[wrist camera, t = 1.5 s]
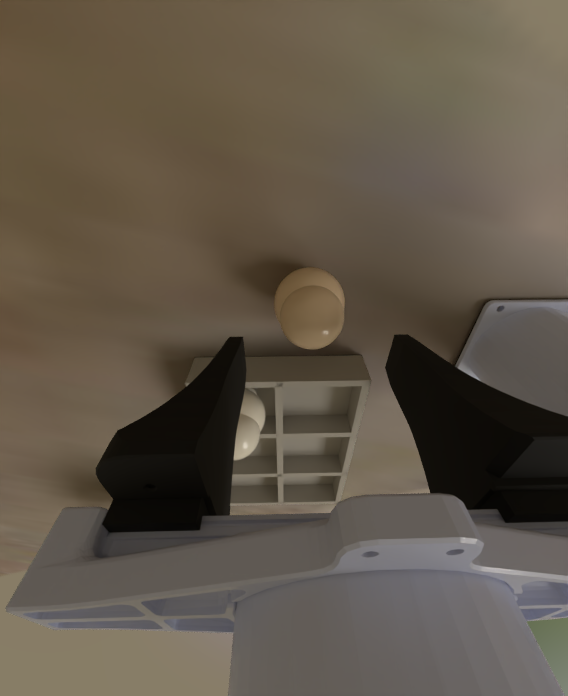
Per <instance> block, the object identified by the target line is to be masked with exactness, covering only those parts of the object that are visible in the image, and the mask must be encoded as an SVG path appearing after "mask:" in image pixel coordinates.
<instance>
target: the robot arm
mask: <svg viewBox="0 0 568 696" xmlns="http://www.w3.org/2000/svg"><path fill="white" fill-rule="evenodd" d="M499 306H500V308H498V307H499ZM497 308H498V309H497ZM385 368H386V372H387V376H388V379H389V382H390V385H391V388H392V390H393V392H394V394H395V396H396V399H397V401H398V403H399V405H400V407H401V409H402V411H403V413H404V416H405V418H406V420H407V422H408V424H409V426H410V429H411V431H412V434H413V437H414V440H415V443H416V446H417V449H418V452H419V455H420V458H421V461H422V465H423V468H424V471H425V475H426V478H427V482H428V486H429V489H430V493H423V494H378V495H361V496H354V497H350V498H347V499H345V500H343V501H341V502H339V503H338V504H337V505H336V506H335V508H334V509H333V510H332V511H331V513H311V514H268V515H230V500H231V486H232V473H233V462H234V450H235V440H236V432H237V426H238V421H239V416H240V411H241V406H242V402H243V397H244V392H245V384H246V371H247V369H246V360H245V351H244V342H243V337H230V338H228V340H227V341H226V342H225V344H224V345H223V347H222V348H221V349H220V351H219V352H218V353H217V355H216V356H215V357H214V358H213V359H212V361H211V362H210V363H209V364H208V365H207V367H206V368H205V369H204V370H203V371H202V372H201V373H200V374H199V375H198V376H197V377H196V378H195V379H194V380H193V381H192V382H191V383H190V384H189V385H188V386H187V387H185V388H184V389H183V390H182V391H181V392H179V393H178V394H177V395H175V396H174V397H173V398H171V399H170V400H169V401H167V402H166V403H165V404H163V405H162V406H160V407H159V408H157V409H156V410H154V411H152V412H151V413H149V414H147V415H146V416H144V417H142V418H141V419H139V420H137V421H135V422H133V423H131V424H129V425H128V426H126V427H124V428H122V429H120V430H118V431H117V432H116V434H115V435H114V437H113V438H112V440H111V442H110V443H109V445H108V447H107V449H106V451H105V452H104V454H103V456H102V458H101V460H100V462H99V463H98V465H97V467H96V475H97V477H98V479H99V481H100V483H101V484H102V485H103V486H104V488H105V489H106V490H107V492H108V493H109V494H110V495H111V497H112V498H113V501H112V504H111V506H110V508H109V510H107V509H105V508H102V507H66V508H64V509H63V510H62V511H61V513H60V515H59V516H58V518H57V520H56V522H55V523H54V525H53V527H52V528H51V530H50V532H49V534H48V535H47V537H46V539H45V541H44V542H43V544H42V546H41V547H40V549H39V551H38V553H37V554H36V556H35V558H34V560H33V561H32V563H31V565H30V566H29V568H28V570H27V572H26V573H25V575H24V577H23V579H22V581H21V582H20V584H19V586H18V587H17V589H16V591H15V593H14V594H13V596H12V598H11V599H10V601H9V603H8V605H7V606H6V612H8V613H11V614H13V615H16V616H19V617H21V618H24V619H27V620H29V621H32V622H35V623H37V624H40V625H43V626H45V627H48V628H50V629H53V630H74V629H75V630H78V629H118V630H153V631H182V632H211V633H233V645H232V656H231V657H232V658H231V667H230V679H229V691H228V696H565V695H564V693H563V691H562V689H561V687H560V685H559V683H558V681H557V680H556V678H555V676H554V674H553V672H552V670H551V668H550V666H549V664H548V662H547V660H546V658H545V656H544V655H543V652H542V650H541V649H540V647H539V645H538V643H537V641H536V639H535V637H534V635H533V633H532V631H531V629H530V627H529V625H528V624H527V622H526V621H535V620H545V619H556V618H567V617H568V299H562V300H492V301H489V302H488V303H486V304H485V306H484V307H483V309H482V312H481V314H480V316H479V318H478V320H477V322H476V324H475V326H474V328H473V330H472V332H471V334H470V336H469V338H468V340H467V343H466V345H465V347H464V349H463V351H462V353H461V355H460V357H459V359H458V361H457V363H456V365H455V366H453V365H452V364H450V363H449V362H447V361H446V360H444V359H443V358H441V357H440V356H438V355H437V354H435V353H434V352H433V351H431V350H430V349H428V348H427V347H425V346H424V345H423V344H421V343H420V342H418V341H417V340H415V339H414V338H412V337H411V336H409V335H394V339H393V342H392V346H391V349H390V353H389V356H388V360H387V363H386V367H385Z"/></svg>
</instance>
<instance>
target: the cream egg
mask: <svg viewBox="0 0 568 696" xmlns="http://www.w3.org/2000/svg"><path fill="white" fill-rule="evenodd" d="M264 423H265V408H264V405H263V403H262V401H261V399H260V398H259V397H258V396H257V391H256V389H255V388H245V392H244V397H243V402H242V406H241V411H240V416H239V421H238V426H237V432H236V440H235V450H234V460H240V459H243V458H245V457H247V456H248V455H250V454H251V453H252V452H253V451H254V450H255V448H256V447H257V444H258V442H259V438H260V432H261V430H262V428H263V426H264Z"/></svg>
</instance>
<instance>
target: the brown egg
mask: <svg viewBox="0 0 568 696" xmlns="http://www.w3.org/2000/svg"><path fill="white" fill-rule="evenodd" d="M344 308H345V297H344V293H343V290H342V287H341V285H340V284H339V282H338V281H337V279H336V278H335V277H334V276H332V275H331V274H330V273H328V272H327V271H325V270H322V269H319V268H314V267H305V268H301V269H298V270H295V271H293V272H291V273H290V274H289V275H287V276H286V277H285V278H284V279H283V280H282V281H281V283H280V284H279V286H278V288H277V290H276V293H275V298H274V309H275V313H276V316H277V319H278V321H279V322H280V324H281V328H282V330H283V333H284V334H285V336H286V337H287V338H288V340H290V341H291V342H292V343H293V344H295V345H296V346H298V347H301V348H304V349H320V348H323V347H325V346H327V345H329V344H330V343H332V342H333V341H334V340H335V339H336V338H337V337H338V335H339V334H340V332H341V330H342V328H343V324H344Z"/></svg>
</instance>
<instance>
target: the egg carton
mask: <svg viewBox="0 0 568 696" xmlns="http://www.w3.org/2000/svg"><path fill="white" fill-rule="evenodd" d="M213 358H214V357H195V358H194V361H193V363H192V366H191V369H190V371H189V374H188V377H187V379H186V382H185V384H186V387H187V386H188V385H189V384H190V383H191V382H192V381H193V380H194V379H195V378H196V377H197V376H198V375H199V374H200V373H201V372H202V371H203V370H204V369H205V368H206V367H207V365H208V364H209V363H210V362H211V361H212V359H213ZM245 360H246V369H247V371H246V384H245V388H255V389H256V391H257V396H258V397H259V398H260V399H261V401H262V403H263V405H264V408H265V423H264V426H263V428H262V430H261V432H260V438H259V442H258V444H257V447H256V448H255V450H254V451H253V452H252V453H251V454H250V455H248V456H247V457H245V458H243V459H240V460H234V462H233V473H232V486H231V500H230V506H246V505H297V504H338V503H339V502H340V501H341V497H342V493H343V489H344V485H345V482H346V478H347V474H348V470H349V466H350V462H351V458H352V454H353V450H354V446H355V443H356V439H357V435H358V431H359V427H360V423H361V419H362V415H363V411H364V407H365V403H366V400H367V396H368V392H369V388H370V384H371V378H370V376H369V373H368V370H367V368H366V365H365V363H364V360H363V357H362V355H349V356H270V357H245Z"/></svg>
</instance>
